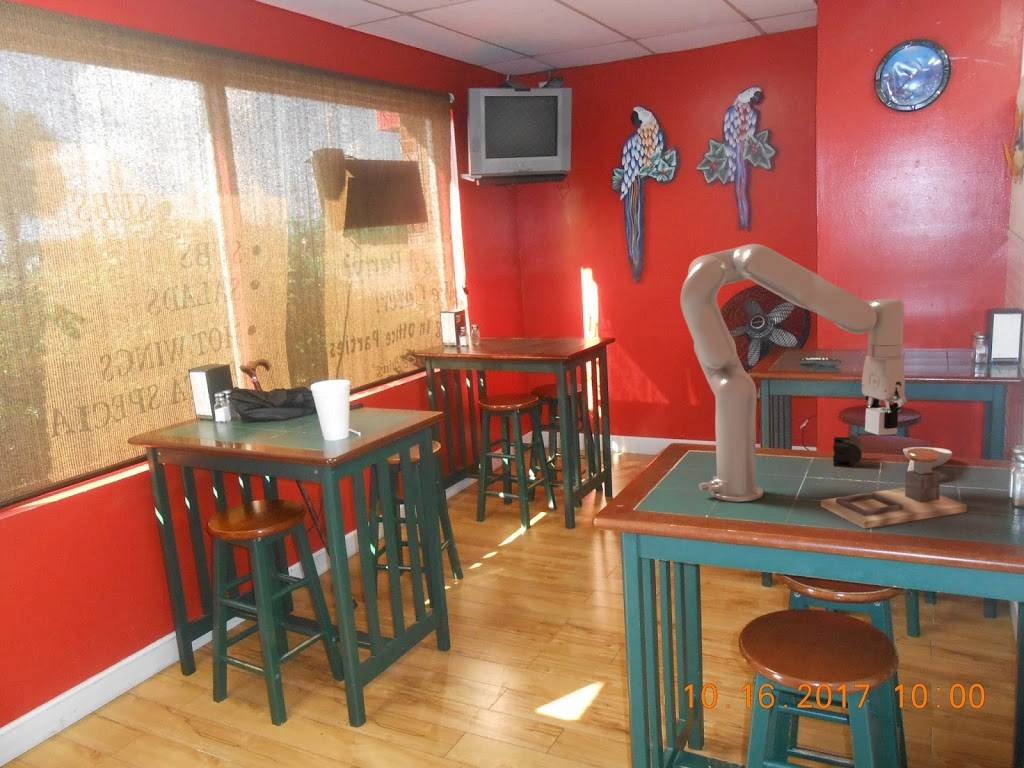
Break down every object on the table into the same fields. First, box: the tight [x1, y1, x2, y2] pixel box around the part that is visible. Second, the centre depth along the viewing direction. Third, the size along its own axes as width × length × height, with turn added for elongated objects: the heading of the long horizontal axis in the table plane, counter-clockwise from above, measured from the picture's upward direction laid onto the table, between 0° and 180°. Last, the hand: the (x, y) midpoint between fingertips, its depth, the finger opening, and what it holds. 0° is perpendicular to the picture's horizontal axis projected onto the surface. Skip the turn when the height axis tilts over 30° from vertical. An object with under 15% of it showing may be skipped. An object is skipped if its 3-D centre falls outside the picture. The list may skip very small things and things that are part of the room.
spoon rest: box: [902, 446, 953, 471], centre depth 213 cm, size 24×12×7 cm, turn 146°
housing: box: [864, 406, 898, 436], centre depth 196 cm, size 5×5×6 cm
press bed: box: [820, 470, 968, 529], centre depth 186 cm, size 26×16×8 cm, turn 103°
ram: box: [906, 448, 939, 476], centre depth 187 cm, size 6×6×7 cm
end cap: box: [832, 434, 863, 468], centre depth 223 cm, size 10×7×7 cm
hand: (882, 424), depth 197 cm, fingers closed on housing, 5 cm apart
